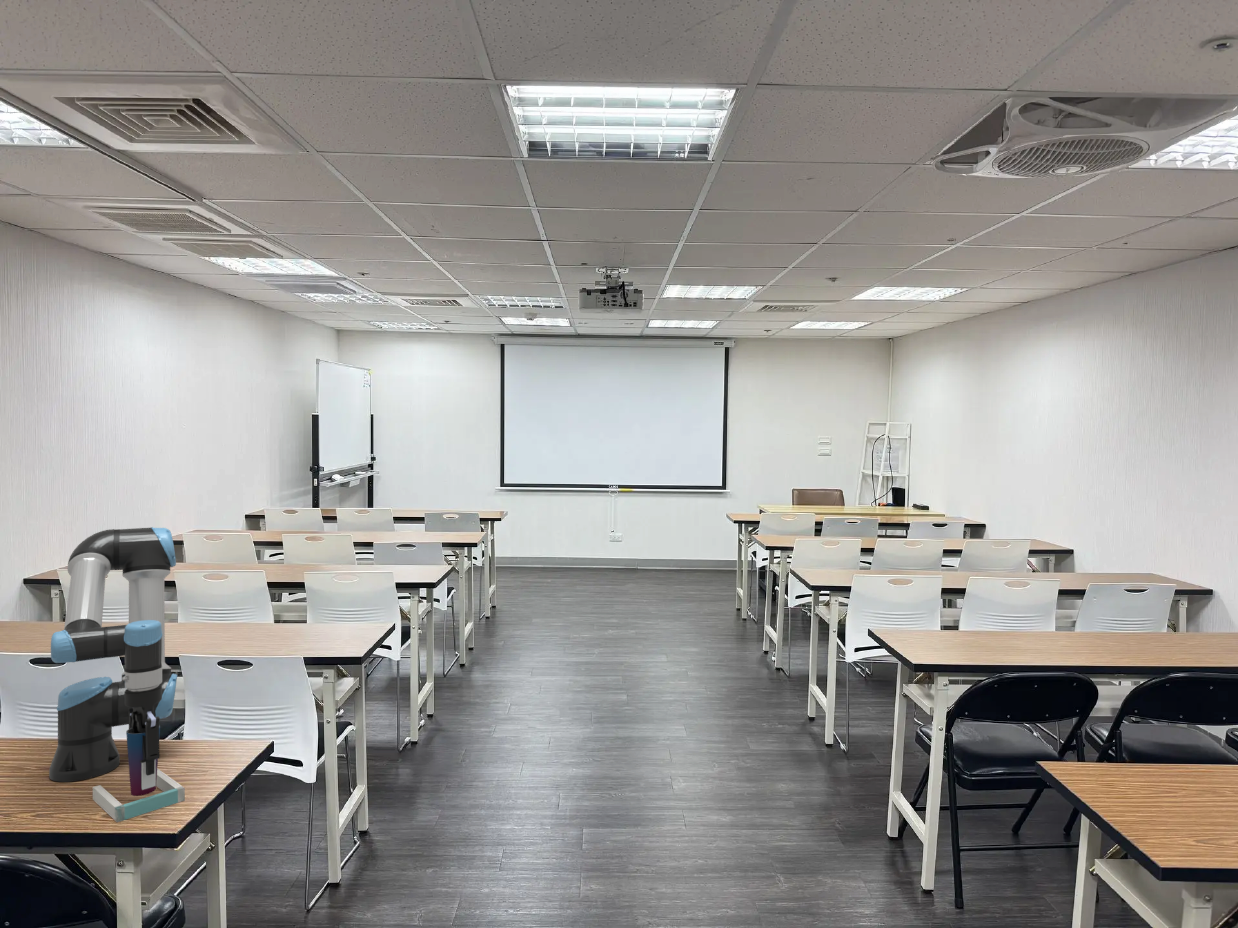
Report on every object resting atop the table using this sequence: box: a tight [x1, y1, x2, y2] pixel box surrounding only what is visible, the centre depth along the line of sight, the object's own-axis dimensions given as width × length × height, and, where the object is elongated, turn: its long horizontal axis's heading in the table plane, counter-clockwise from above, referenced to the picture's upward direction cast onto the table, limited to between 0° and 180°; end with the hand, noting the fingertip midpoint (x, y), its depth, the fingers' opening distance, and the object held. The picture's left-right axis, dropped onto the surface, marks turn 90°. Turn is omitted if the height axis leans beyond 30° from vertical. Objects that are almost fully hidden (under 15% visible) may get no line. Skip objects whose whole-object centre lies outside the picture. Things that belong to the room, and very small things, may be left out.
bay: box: [92, 768, 186, 823], centre depth 176 cm, size 18×14×3 cm
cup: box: [125, 724, 161, 797], centre depth 174 cm, size 7×7×15 cm
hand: (143, 783), depth 174 cm, fingers closed on cup, 6 cm apart
